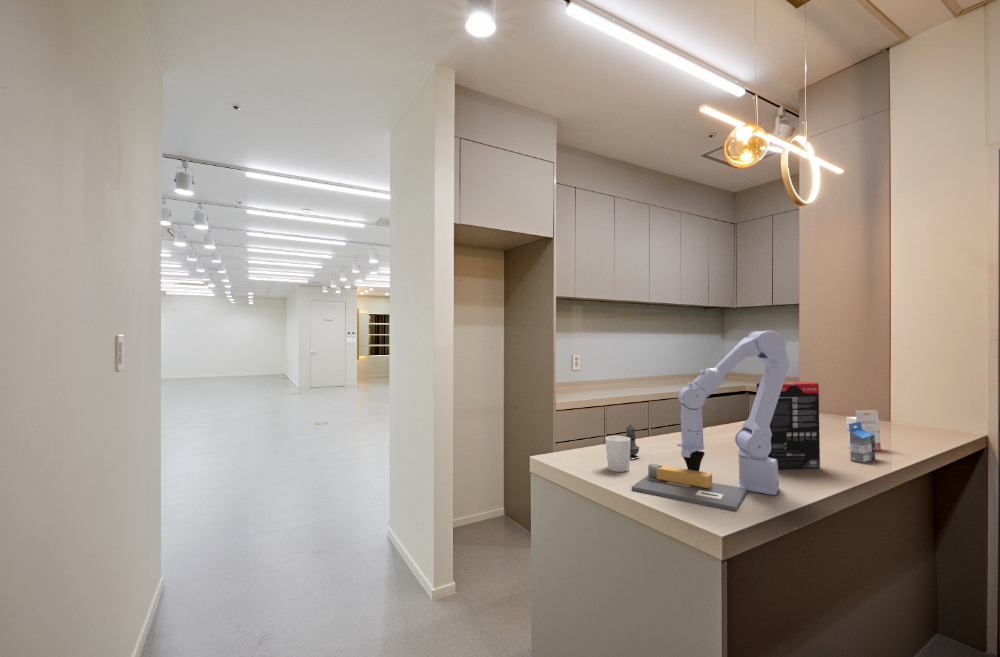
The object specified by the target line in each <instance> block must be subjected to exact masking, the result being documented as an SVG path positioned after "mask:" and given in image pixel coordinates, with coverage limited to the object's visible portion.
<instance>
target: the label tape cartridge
mask: <svg viewBox="0 0 1000 657" xmlns="http://www.w3.org/2000/svg"><path fill="white" fill-rule="evenodd" d="M855 425H856V426H857V428H854V426H855ZM849 430H850V448H849V450H850V451H849V452H850V454H849V455H850V461H851V462H856V463H860V464H865V463H869V462H871V461H874V460H876V459H877V458H876V451H875V436H874V435H873V434H871V433H869V432H867V431H865V430H863V429H862V427H861V421H860V422H856V423H852V424H849Z"/></svg>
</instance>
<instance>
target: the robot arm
mask: <svg viewBox="0 0 1000 657" xmlns="http://www.w3.org/2000/svg"><path fill="white" fill-rule="evenodd" d="M786 347H787V341H786V340H785V339H784V338H783V336H782V335H781V334H780V333H779V332H777V331H775V330H771V329H770V330H765V331H763V330H762V331H761V330H754V331H751V332H750V333H748V335H747V336H746V337H743V338H742V339H741V340H740V341H739V342H738V343H737V344H736V345H735V346H734V347H733V348H732V349H731V350H730V351H729V352H728V353H727V354H726V355H725V357H724V358H722V359H721V360H720V361H719V362H718V363H717V364H716V365H715V367H707V368H705V369H701V370H700V371H699V375H698V376H697V377H696V378H694V380H692V382H691V381H690V382H688V383H687V385H688V386H685V387H683V388H681V389H680V391H679V393H678V395H677V400H678V402H679V403H680V429H681V431H680V432H681V433H680V434H681V435H680V436H681V442H678V443H677V447H681V451H680V452H681V457H682V458H683V460H684V463H685V464H686V467H687V468H686V469H689V470H695V471H700V469H701V464H702V461H703V458H704V456H705V452H704V451H703V450H705V445H704V425H703V422H704V421H703V418H704V417H703V406H704V405H705V402H706V398H709V397H710V396H711V395H712V394H713V393H714V392H715V391H716V390H717V389H718V388H720V386H721V385H722V384H724V383H725V382H724V381H725V380H724V378H725V376H726V375H727V374H728V373H729V372H730V371H732V370H733V368H735V367H736V366H738V365H739V364H740V363H741V362H742V361H743V360H744V359H746V358H748V357H755V356H757V357H758V358H759V359H760V361H761V362H762V363H763V365H764V371H763V373H762V376H761V380H760V382H759V383H760V385H759V388H758V391H757V390H756V395H755V398H754V399H753V400H754V401H753V404H752V407H751V410H750V413H749V416H748V418H747V420H745V421H744V422H743V423H742V427H741V428H740V429H739V430H738V431H737V432H736V434H735V436H734V441H735V444H736V445H737V447H738V448H739V450H738V452H737V453H738V456H737V457H738V473H739V474H738V479H739V480H738V482H737V485H736V486H735V487H740V488H746V489H747V492H748V491H749V492H754V493H761V494H764V495H765V494H766V495H770V496H771V495H772V496H776V495H777V493H778V491H779V488H780V480H779V468H778V463H777V459H773V458H769V457H768V455H769V454H770V452H771V448H772V447H771V436H772V433H771V429H770V423H771V420H772V417H773V414H774V411H775V408H776V405H777V402H778V399H779V396H780V392H781V389H782V386H783V383H784V382H785V380H786V376H787V374H788V371H789V368H790V361H789V357H788V352H787V349H786Z"/></svg>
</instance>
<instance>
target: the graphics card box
mask: <svg viewBox="0 0 1000 657" xmlns="http://www.w3.org/2000/svg"><path fill="white" fill-rule="evenodd" d="M759 385H760V382H757V383H756V392H757V391H758V388H759ZM819 387H820V385H819V382H812V381H810V382H809V381H805V382H804V381H803V382H802V381H796V382H795V381H794V382H793V381H792V382H791V381H790V382H789V381H788V382H785V381H784V383H783V386H782V389H781V392H780V396H779V399H778V402H777V405H776V408H775V411H774V414H773V417H772V420H771V423H770V429H771V433H772V436H771V447H772V448H771V452H770V454H769V455H768V457H769V458H773V459H777V463H778V469H820V468H821V449H820V447H821V446H820V439H821V438H820V436H821V435H820V388H819Z"/></svg>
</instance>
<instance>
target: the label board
mask: <svg viewBox="0 0 1000 657" xmlns="http://www.w3.org/2000/svg"><path fill="white" fill-rule="evenodd" d="M631 491H634V492H638V493H642V494H643V493H644V494H647V495H654V496H660V497H664V498H669V499H673V500H677V501H682V502H689V503H693V504H698V505H704V506H709V507H713V508H718V509H722V510H728V511H733V512H737V510H738V509H739V507H740V506H741V503H742V502H743V500H744V499H745V497H746V495H747V494H748V491H747V489H746V488H740V487H736V486H733V485H727V484H723V483H715V482H712V485H711V486H710V487H709V488H705V487H700V486H694V485H689V484H683V483H678V482H672V481H667V480H661V479H657V478H651V477H649V476H648V474H647V475H645V477H643V478H641V479H640V480H639V481H638V482H636V483H635V484H633V485H632V486H631Z"/></svg>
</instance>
